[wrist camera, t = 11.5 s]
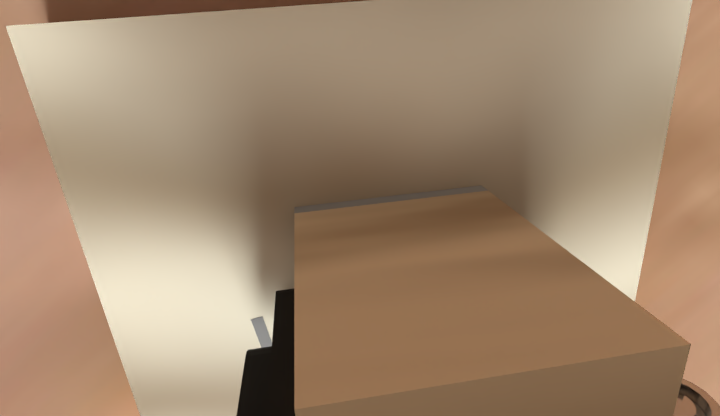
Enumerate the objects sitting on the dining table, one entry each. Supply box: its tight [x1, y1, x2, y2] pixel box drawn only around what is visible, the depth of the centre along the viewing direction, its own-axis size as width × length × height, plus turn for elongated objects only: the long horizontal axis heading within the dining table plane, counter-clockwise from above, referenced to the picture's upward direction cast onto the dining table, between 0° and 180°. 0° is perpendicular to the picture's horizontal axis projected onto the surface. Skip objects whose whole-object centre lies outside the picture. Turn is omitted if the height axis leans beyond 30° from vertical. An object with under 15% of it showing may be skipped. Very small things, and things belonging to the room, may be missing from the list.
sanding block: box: [294, 185, 691, 416], centre depth 9 cm, size 7×4×6 cm, turn 4°
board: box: [6, 0, 692, 416], centre depth 13 cm, size 20×14×2 cm
